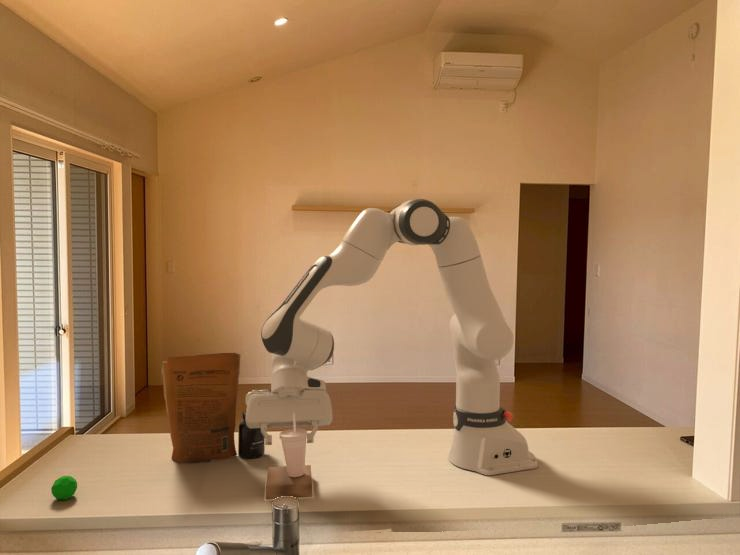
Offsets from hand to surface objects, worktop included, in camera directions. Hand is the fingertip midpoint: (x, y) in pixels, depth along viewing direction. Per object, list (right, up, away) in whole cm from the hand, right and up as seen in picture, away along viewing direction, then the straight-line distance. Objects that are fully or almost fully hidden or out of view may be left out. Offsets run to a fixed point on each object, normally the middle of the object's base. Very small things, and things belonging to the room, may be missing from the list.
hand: (289, 443), depth 127 cm
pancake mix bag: (-25, -10, +17) cm, 32 cm away
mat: (-1, -11, +1) cm, 11 cm away
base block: (0, -10, +1) cm, 10 cm away
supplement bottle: (-13, -10, +20) cm, 26 cm away
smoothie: (+1, -7, +1) cm, 8 cm away
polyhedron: (-49, -11, -4) cm, 50 cm away
